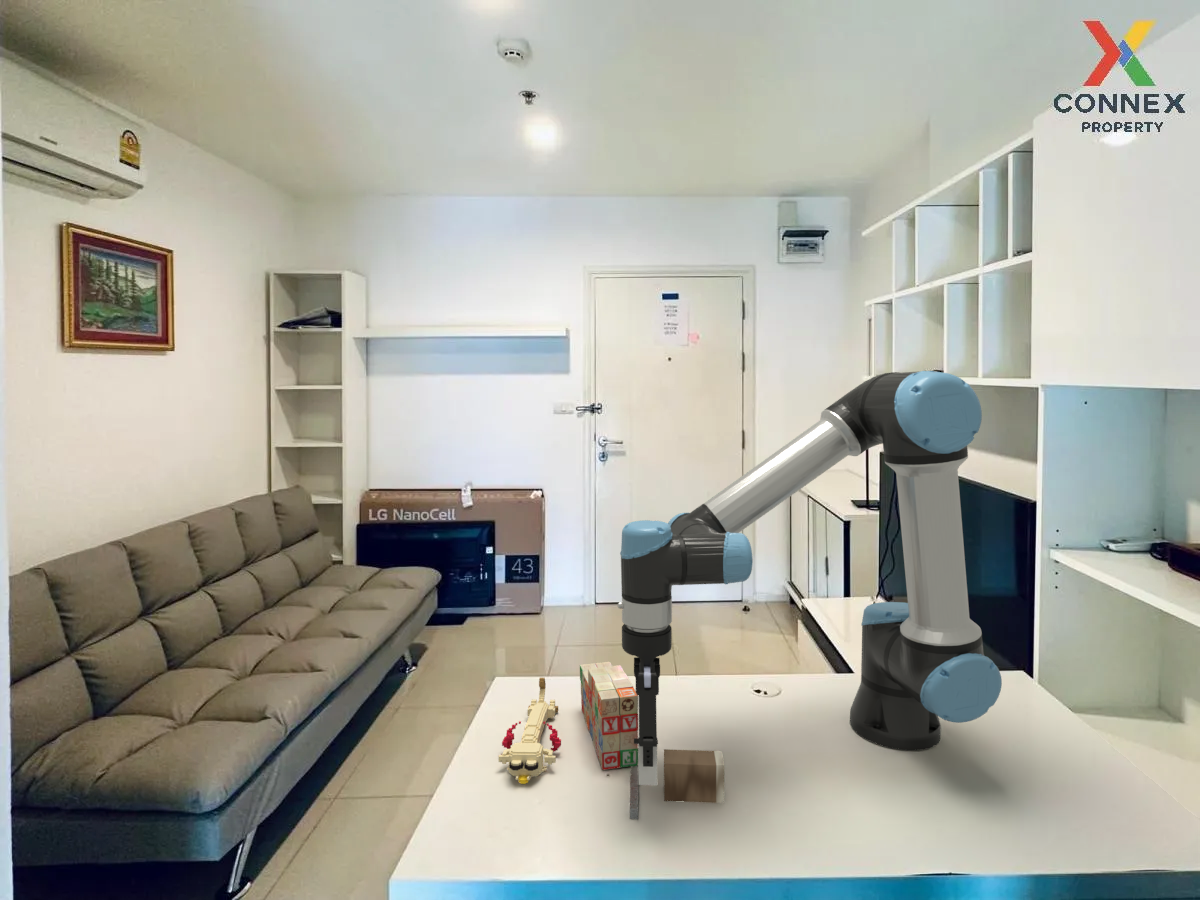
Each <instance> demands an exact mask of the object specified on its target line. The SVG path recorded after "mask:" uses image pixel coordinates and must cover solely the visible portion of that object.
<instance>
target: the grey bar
mask: <svg viewBox="0 0 1200 900" xmlns="http://www.w3.org/2000/svg"><path fill="white" fill-rule="evenodd" d="M629 777H630V780H629V783H630V784H629V819H630V820H638V819H639V772H638V765H637V766H630V776H629Z"/></svg>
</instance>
